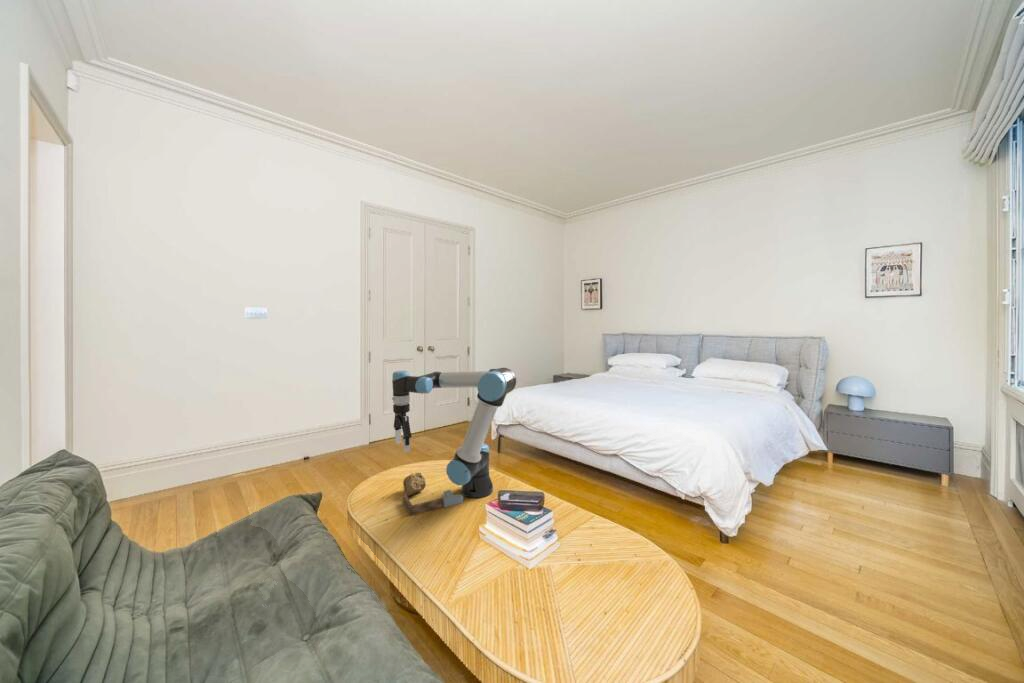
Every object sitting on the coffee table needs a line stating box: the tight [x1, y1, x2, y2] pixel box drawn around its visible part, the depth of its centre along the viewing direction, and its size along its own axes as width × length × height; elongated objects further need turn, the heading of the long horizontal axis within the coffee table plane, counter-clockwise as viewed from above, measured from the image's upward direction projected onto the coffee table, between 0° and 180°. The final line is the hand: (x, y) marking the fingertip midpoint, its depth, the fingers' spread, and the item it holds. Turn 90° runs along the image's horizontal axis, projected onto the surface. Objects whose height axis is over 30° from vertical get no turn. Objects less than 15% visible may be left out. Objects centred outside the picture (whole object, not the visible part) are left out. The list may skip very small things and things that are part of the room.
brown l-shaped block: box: [402, 494, 444, 516], centre depth 176 cm, size 15×12×4 cm
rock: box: [402, 472, 427, 497], centre depth 187 cm, size 12×10×10 cm
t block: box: [442, 489, 464, 508], centre depth 180 cm, size 9×9×3 cm
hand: (402, 447), depth 188 cm, fingers open, 13 cm apart
